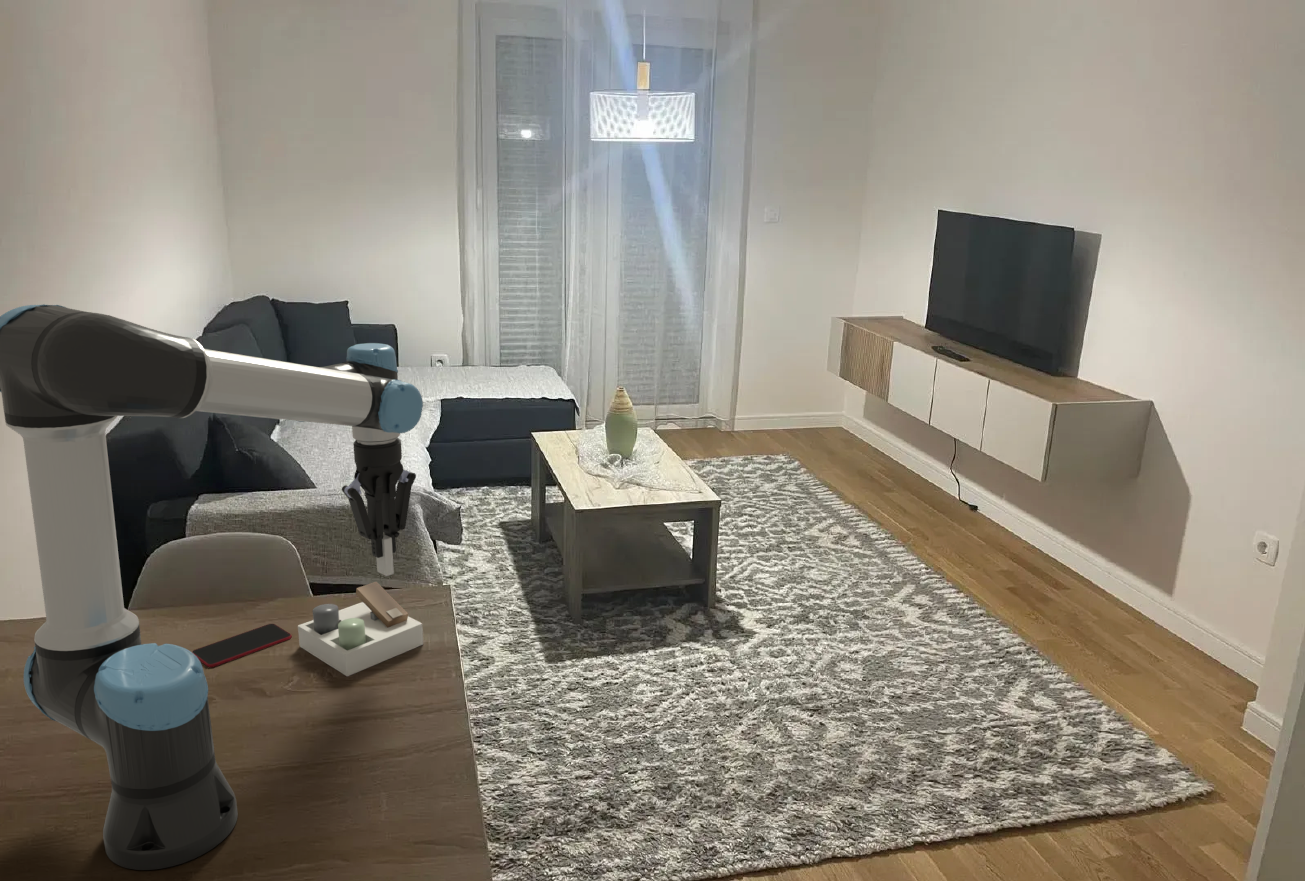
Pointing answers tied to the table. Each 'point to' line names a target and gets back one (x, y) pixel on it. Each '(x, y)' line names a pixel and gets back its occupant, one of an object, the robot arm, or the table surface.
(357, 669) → the panel
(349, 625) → the button sage
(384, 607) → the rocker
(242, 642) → the smartphone
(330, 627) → the button graphite
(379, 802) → the table surface
